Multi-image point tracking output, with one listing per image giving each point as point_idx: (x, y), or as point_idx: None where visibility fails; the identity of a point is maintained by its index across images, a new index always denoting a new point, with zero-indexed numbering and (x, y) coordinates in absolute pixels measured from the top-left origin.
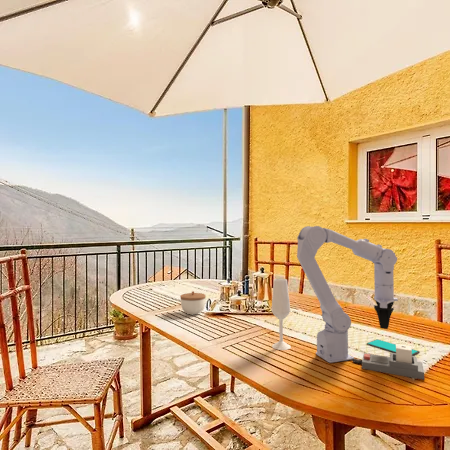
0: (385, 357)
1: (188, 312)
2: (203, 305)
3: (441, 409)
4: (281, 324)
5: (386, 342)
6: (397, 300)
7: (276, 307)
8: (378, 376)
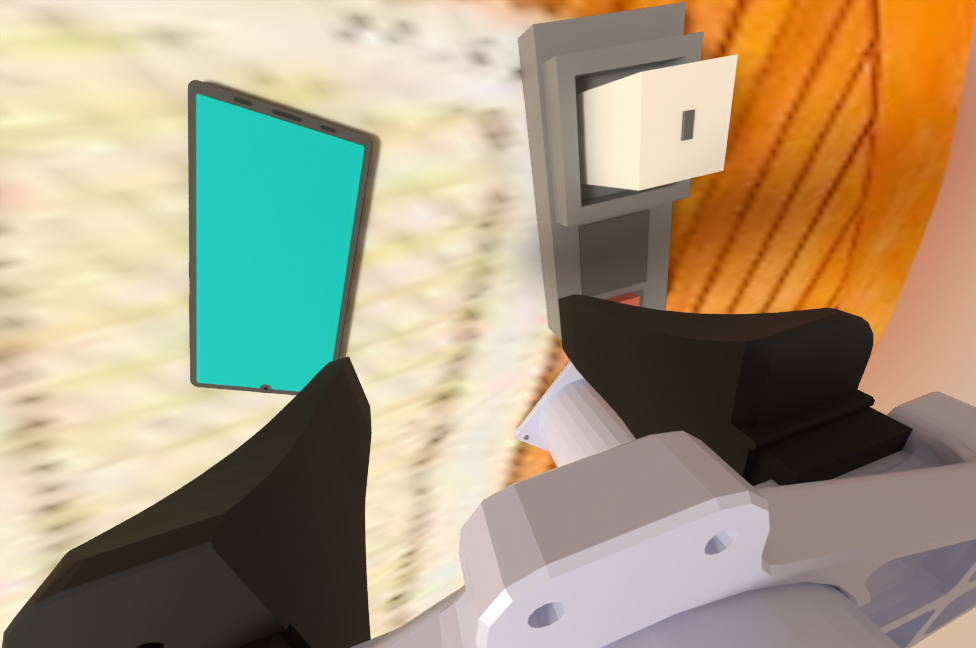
0: (567, 241)
1: None
2: None
3: None
4: None
5: (207, 324)
6: (698, 445)
7: None
8: (693, 224)
